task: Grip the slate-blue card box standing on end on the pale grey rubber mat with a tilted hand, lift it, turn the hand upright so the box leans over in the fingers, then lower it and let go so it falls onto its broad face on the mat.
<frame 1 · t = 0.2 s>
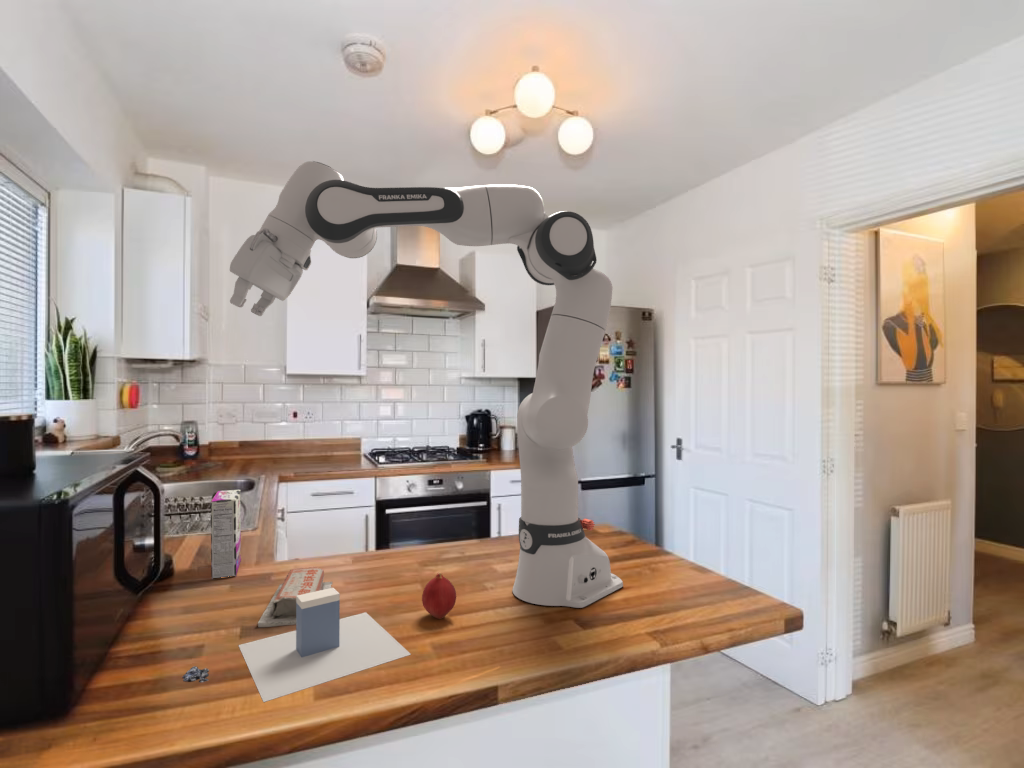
hand: (245, 310, 95), 54 cm above the countertop, tool tilted 25°, fingers open, 8 cm apart
candy bar box: (226, 571, 115), on the countertop
packaged product: (298, 609, 96), on the countertop
blueberries: (201, 681, 72), on the countertop
rubber mat: (323, 652, 79), on the countertop
onion: (439, 620, 91), on the countertop
card box: (317, 647, 80), resting on rubber mat
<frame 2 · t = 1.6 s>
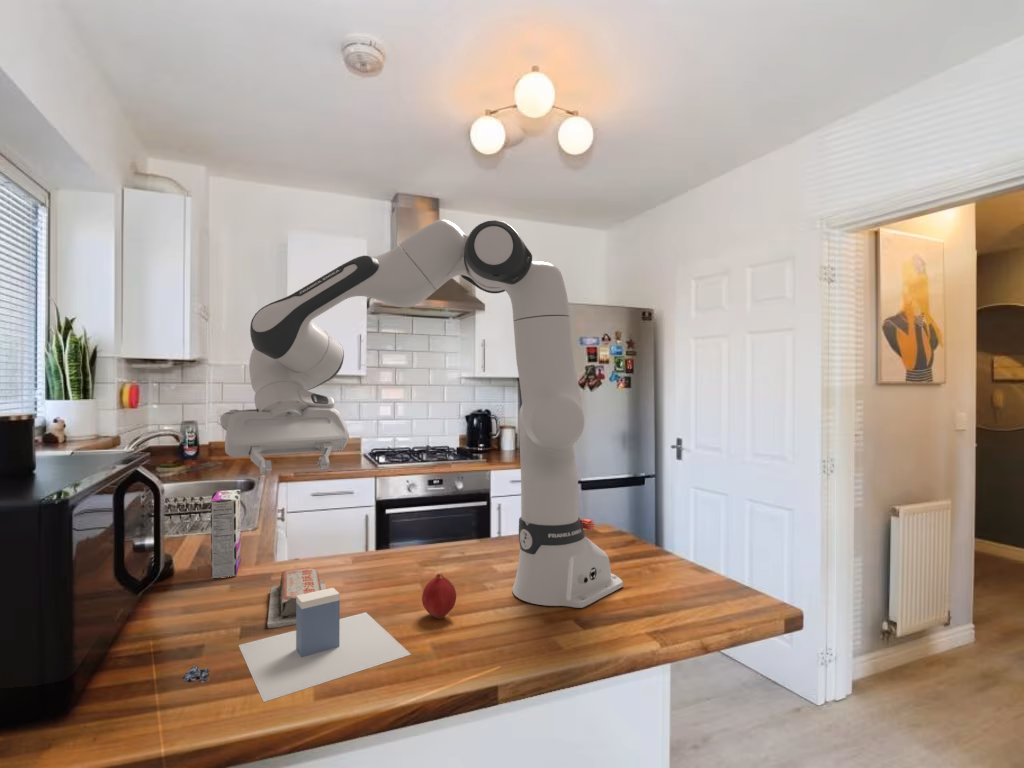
hand: (296, 469, 90), 26 cm above the countertop, tool tilted 45°, fingers open, 8 cm apart
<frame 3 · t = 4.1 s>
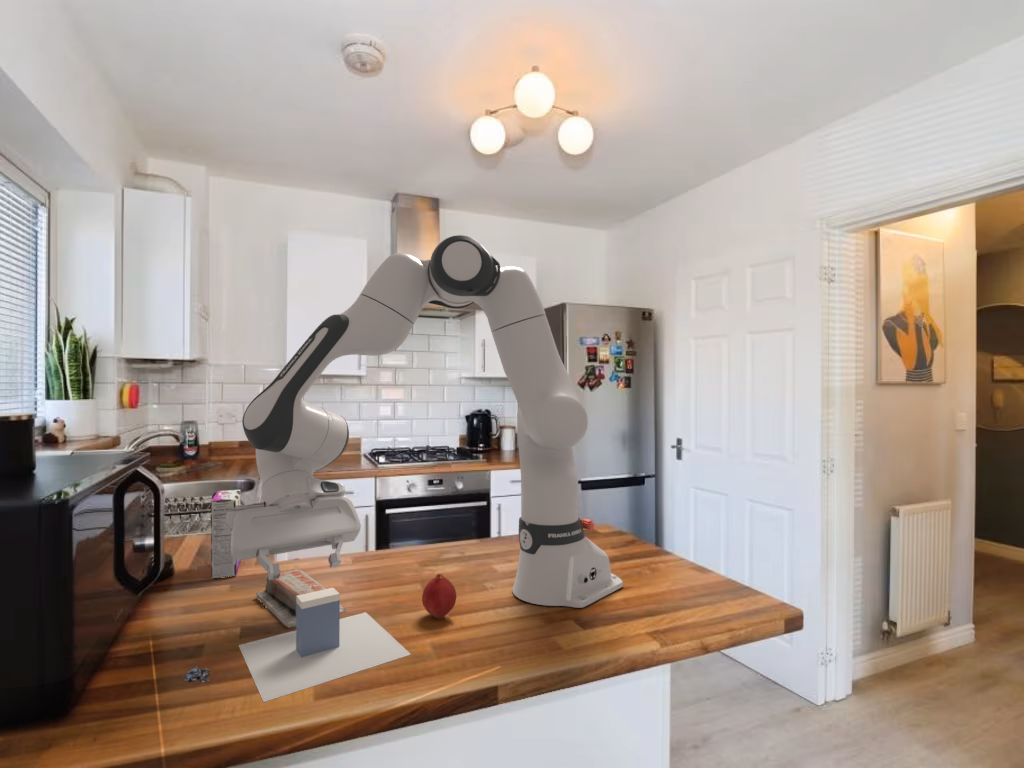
hand: (306, 571, 85), 10 cm above the countertop, tool tilted 45°, fingers open, 8 cm apart
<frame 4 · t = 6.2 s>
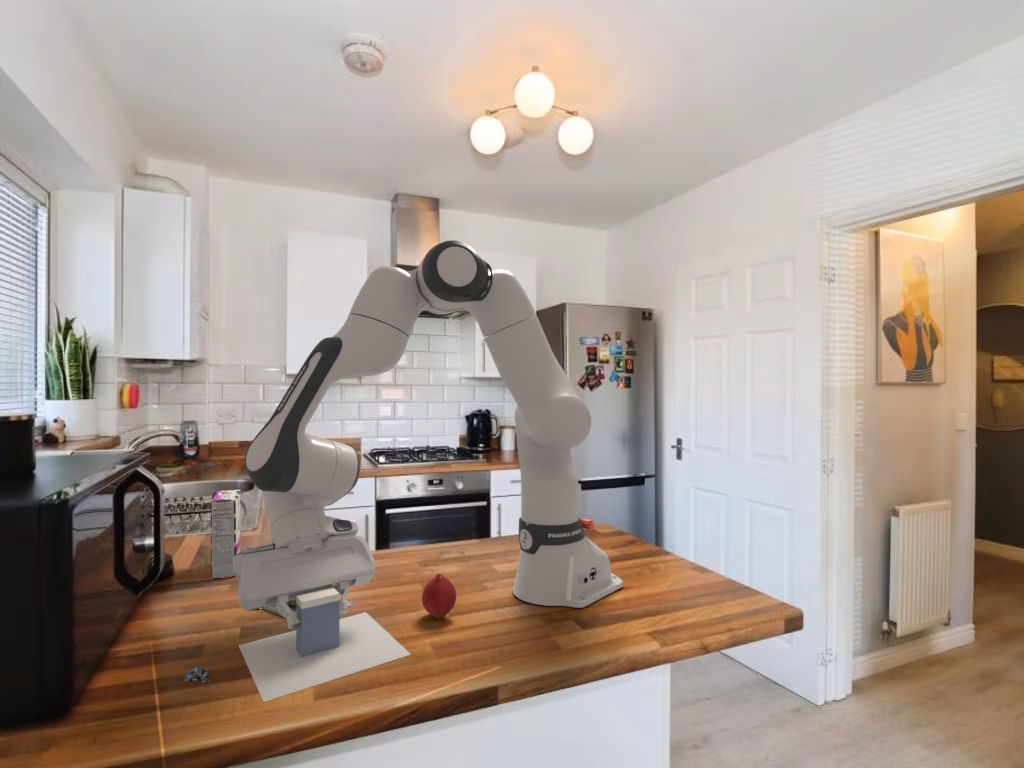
hand: (319, 620, 79), 5 cm above the countertop, tool tilted 45°, fingers closed on card box, 5 cm apart
card box: (317, 647, 80), resting on rubber mat, touching gripper
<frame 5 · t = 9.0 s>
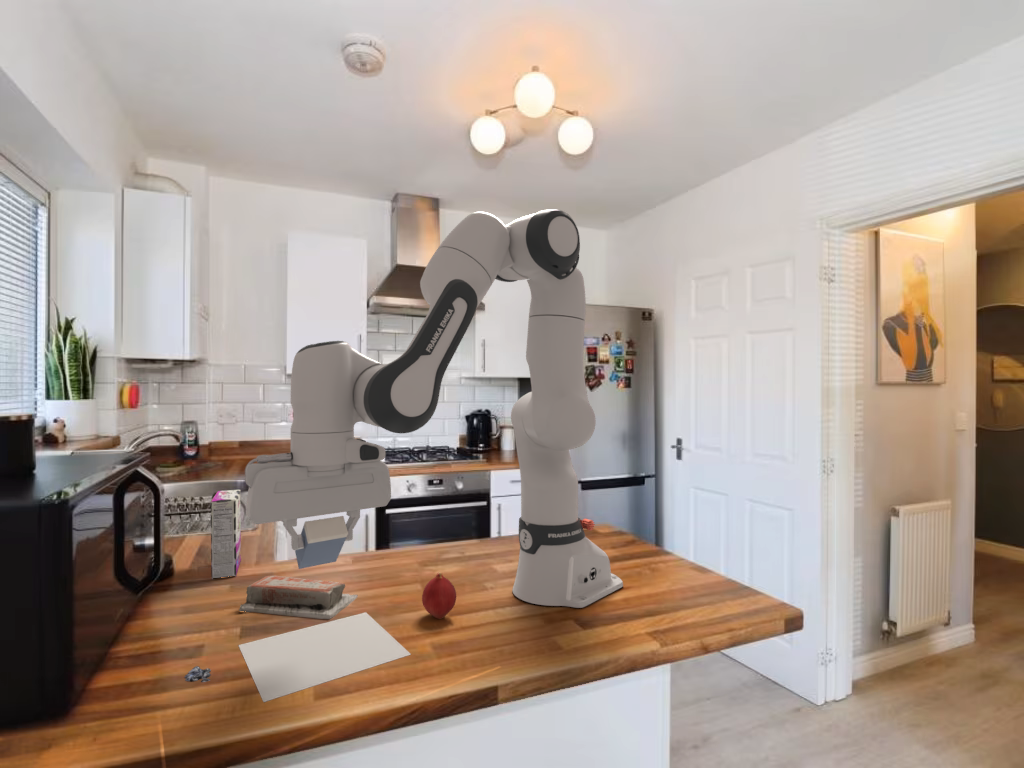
hand: (322, 544, 78), 16 cm above the countertop, tool pointing down, fingers closed on card box, 5 cm apart
card box: (315, 556, 81), point 14 cm above the countertop, tilted 45°, touching gripper
when the fingers open (6 cm above the countertop, at t = 12.4 s): card box drops 1 cm and tips over, resting on rubber mat.
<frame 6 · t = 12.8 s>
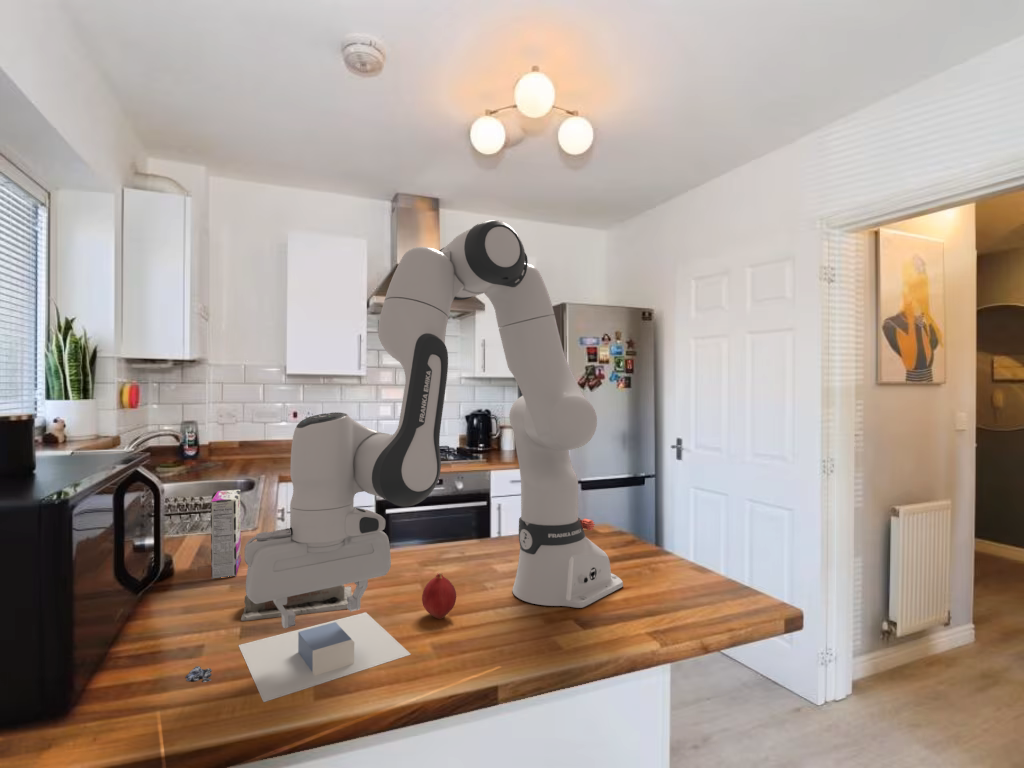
hand: (322, 617, 78), 6 cm above the countertop, tool pointing down, fingers open, 8 cm apart
card box: (317, 636, 80), point 2 cm above the countertop, tilted 90°, touching rubber mat
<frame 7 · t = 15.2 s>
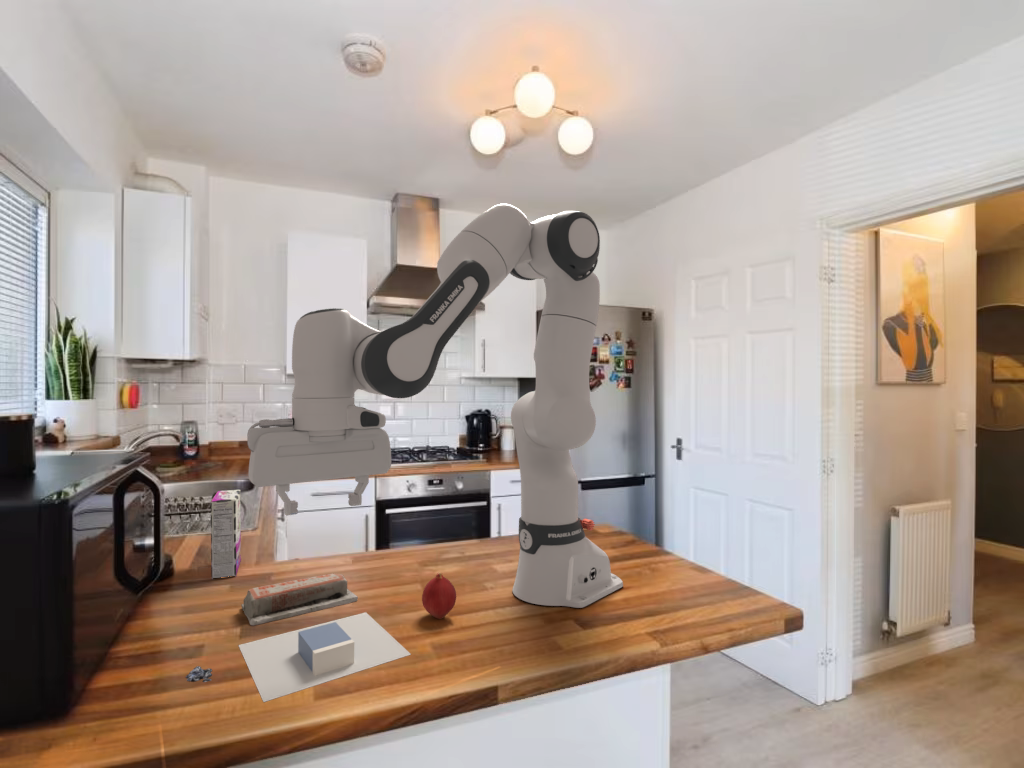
hand: (324, 509, 79), 21 cm above the countertop, tool pointing down, fingers open, 8 cm apart
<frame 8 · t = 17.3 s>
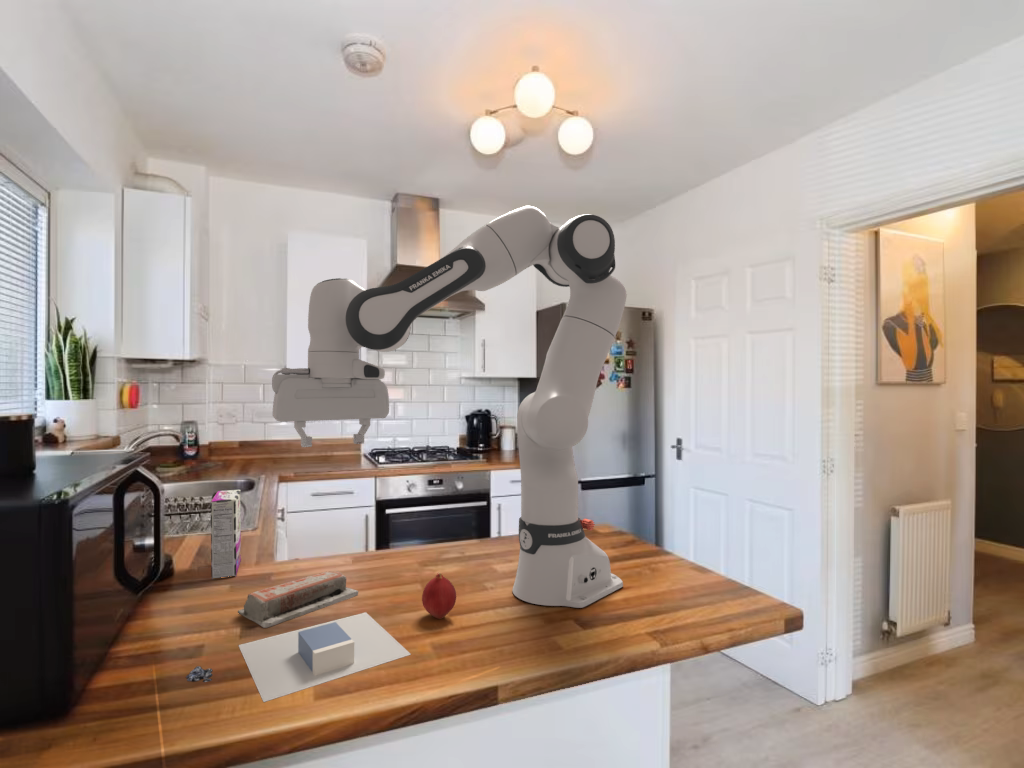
hand: (333, 445, 96), 29 cm above the countertop, tool pointing down, fingers open, 8 cm apart
at the end: card box tilted 90°; card box inside the target area on the rubber mat (1.0 cm from its centre), point 1.9 cm above the rubber mat's base; the gripper is holding nothing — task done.
